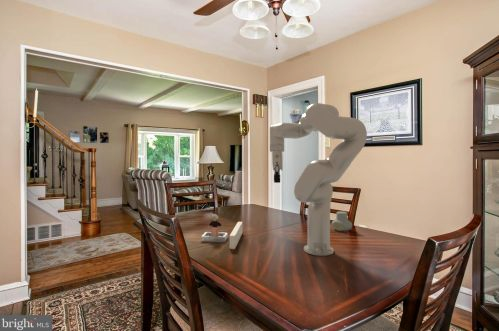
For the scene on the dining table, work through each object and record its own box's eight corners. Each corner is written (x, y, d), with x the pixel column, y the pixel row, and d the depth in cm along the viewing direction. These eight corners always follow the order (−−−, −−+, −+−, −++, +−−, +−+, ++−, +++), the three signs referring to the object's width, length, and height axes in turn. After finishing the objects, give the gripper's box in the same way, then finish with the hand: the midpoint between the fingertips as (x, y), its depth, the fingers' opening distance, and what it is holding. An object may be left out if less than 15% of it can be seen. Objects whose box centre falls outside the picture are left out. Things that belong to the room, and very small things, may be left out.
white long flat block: (234, 249, 122) (234, 235, 121) (229, 248, 122) (229, 235, 122) (242, 232, 148) (242, 221, 147) (238, 232, 148) (238, 221, 148)
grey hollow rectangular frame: (224, 242, 131) (224, 237, 131) (201, 241, 133) (201, 236, 133) (227, 237, 139) (227, 232, 139) (205, 236, 140) (205, 232, 140)
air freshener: (329, 229, 154) (329, 211, 154) (336, 226, 160) (337, 210, 159) (347, 233, 146) (347, 215, 146) (354, 230, 151) (354, 212, 151)
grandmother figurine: (206, 240, 135) (206, 214, 134) (208, 237, 138) (208, 213, 138) (222, 240, 134) (222, 214, 134) (223, 238, 138) (223, 213, 138)
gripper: (284, 148, 132) (284, 183, 133) (283, 149, 149) (283, 180, 150) (269, 148, 133) (269, 183, 133) (270, 149, 150) (270, 180, 151)
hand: (277, 181), depth 142 cm, fingers open, 9 cm apart
